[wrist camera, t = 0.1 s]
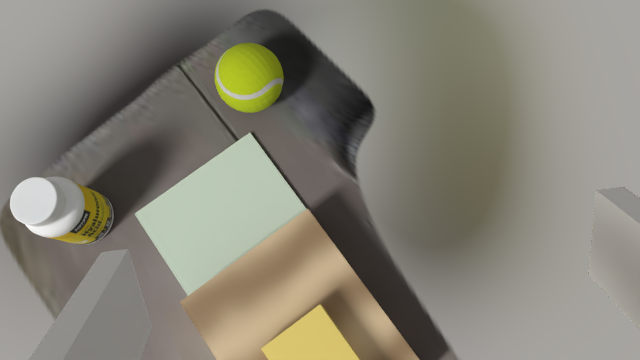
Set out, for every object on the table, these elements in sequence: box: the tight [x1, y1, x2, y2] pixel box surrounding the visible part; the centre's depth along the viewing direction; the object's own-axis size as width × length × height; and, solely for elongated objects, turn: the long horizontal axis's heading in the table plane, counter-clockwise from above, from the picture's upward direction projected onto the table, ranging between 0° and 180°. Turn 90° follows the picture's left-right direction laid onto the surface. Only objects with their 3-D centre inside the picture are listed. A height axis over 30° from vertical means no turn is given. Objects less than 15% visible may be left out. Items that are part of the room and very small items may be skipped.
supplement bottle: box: [10, 177, 114, 244], centre depth 48 cm, size 5×5×10 cm
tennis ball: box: [215, 43, 284, 113], centre depth 51 cm, size 7×7×7 cm
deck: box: [180, 209, 419, 360], centre depth 47 cm, size 18×14×4 cm
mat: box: [135, 133, 306, 296], centre depth 52 cm, size 10×14×1 cm
